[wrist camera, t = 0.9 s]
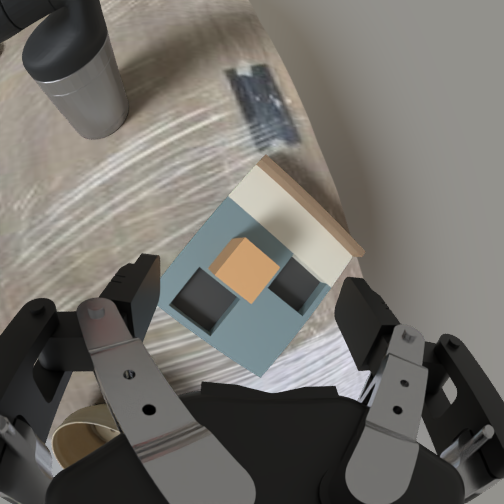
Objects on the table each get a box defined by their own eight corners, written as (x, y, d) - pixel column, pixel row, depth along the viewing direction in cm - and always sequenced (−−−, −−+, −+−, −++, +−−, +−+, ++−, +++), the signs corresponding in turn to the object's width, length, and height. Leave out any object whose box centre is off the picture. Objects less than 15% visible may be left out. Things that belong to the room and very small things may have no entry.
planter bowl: (158, 464, 37) (158, 506, 26) (74, 443, 33) (59, 479, 23) (167, 398, 38) (165, 440, 27) (70, 373, 34) (45, 406, 23)
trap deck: (148, 293, 37) (143, 300, 32) (256, 164, 40) (265, 154, 35) (256, 370, 41) (265, 385, 36) (347, 251, 44) (365, 251, 39)
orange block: (207, 268, 36) (214, 275, 28) (231, 238, 37) (245, 237, 29) (236, 292, 37) (251, 304, 29) (260, 262, 38) (280, 267, 30)
